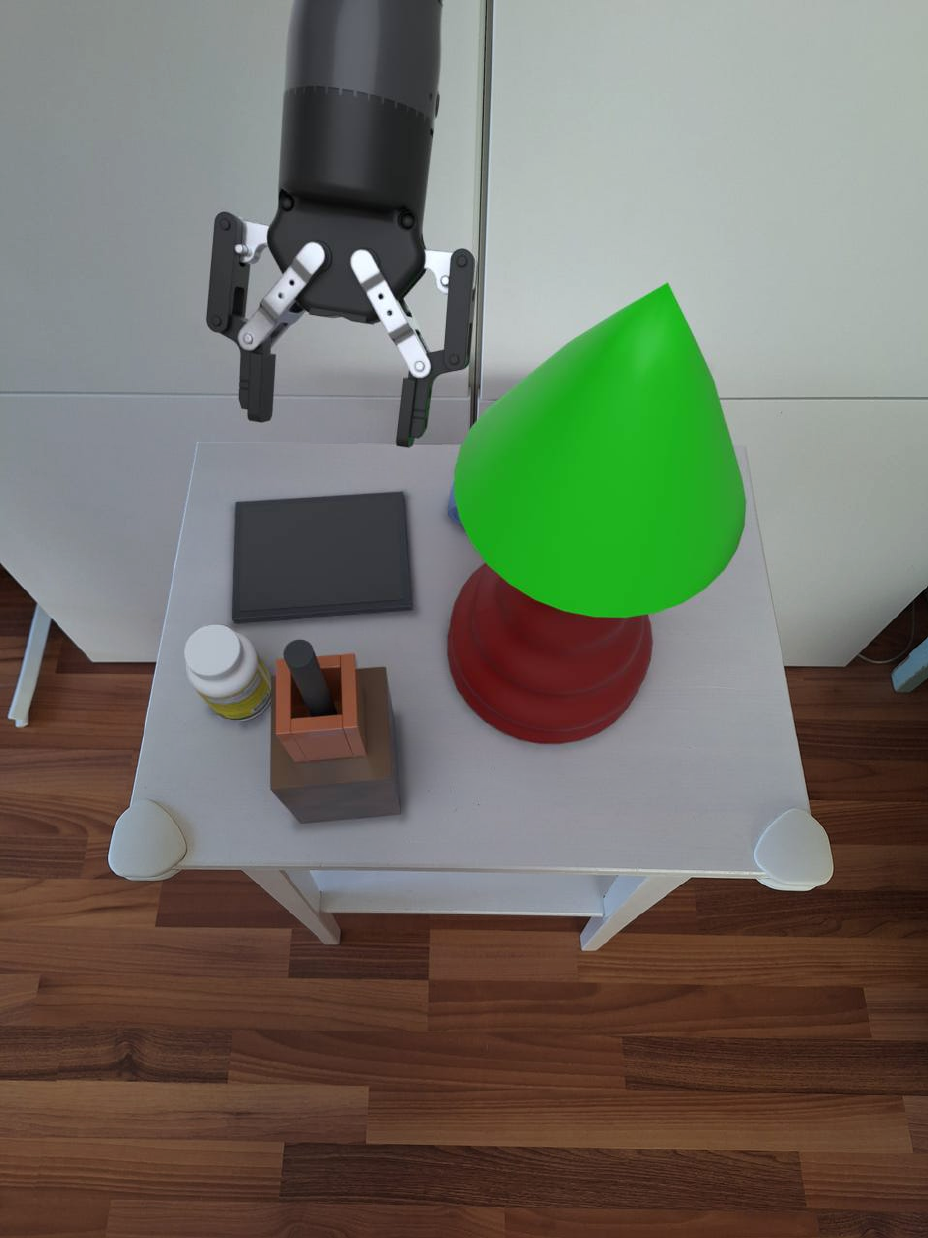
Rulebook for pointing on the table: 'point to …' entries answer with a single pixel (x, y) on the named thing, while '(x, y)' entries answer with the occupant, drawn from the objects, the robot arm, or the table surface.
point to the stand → (343, 766)
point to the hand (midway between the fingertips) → (332, 433)
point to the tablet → (320, 557)
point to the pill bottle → (227, 673)
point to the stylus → (309, 678)
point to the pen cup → (323, 733)
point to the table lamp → (590, 522)
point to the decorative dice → (453, 507)
